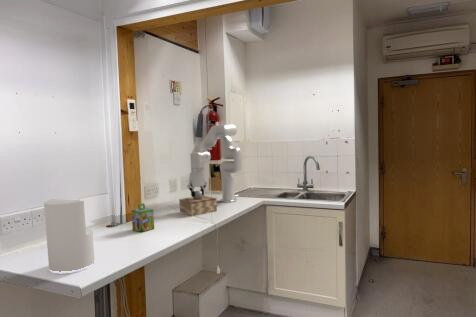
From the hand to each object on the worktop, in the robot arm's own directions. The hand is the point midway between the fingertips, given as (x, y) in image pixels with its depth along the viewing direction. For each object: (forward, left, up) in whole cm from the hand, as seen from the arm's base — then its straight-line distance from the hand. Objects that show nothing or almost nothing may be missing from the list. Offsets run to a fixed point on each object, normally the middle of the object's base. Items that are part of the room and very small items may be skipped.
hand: (197, 195), depth 240 cm
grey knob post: (0, 0, -2) cm, 2 cm away
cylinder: (+93, +47, -11) cm, 105 cm away
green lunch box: (+47, +15, -11) cm, 51 cm away
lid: (0, 0, -3) cm, 3 cm away
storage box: (0, 0, -11) cm, 11 cm away
